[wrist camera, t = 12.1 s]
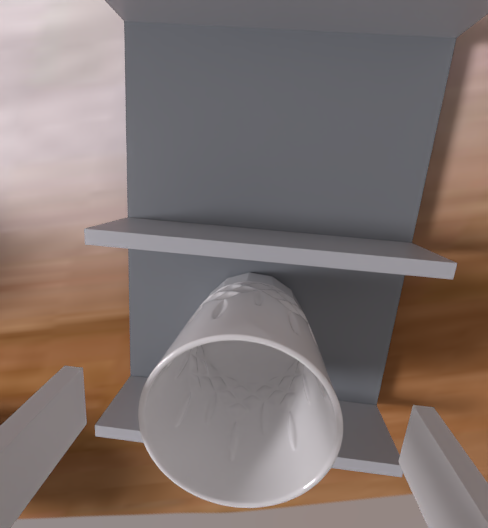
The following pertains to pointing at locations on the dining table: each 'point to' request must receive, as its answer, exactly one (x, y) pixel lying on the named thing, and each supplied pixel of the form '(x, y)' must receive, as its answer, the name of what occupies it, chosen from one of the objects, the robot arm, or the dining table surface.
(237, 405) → the white cup
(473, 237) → the dining table surface
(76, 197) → the dining table surface
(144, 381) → the dish rack
